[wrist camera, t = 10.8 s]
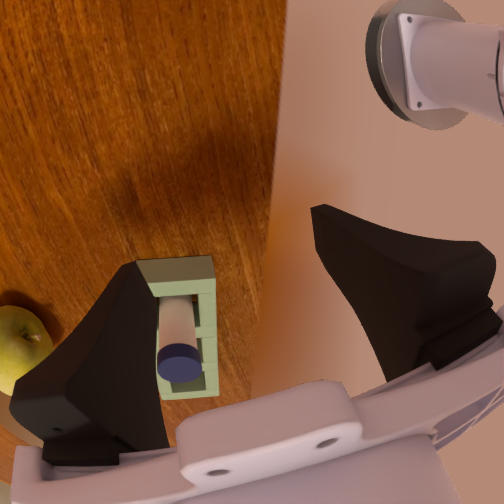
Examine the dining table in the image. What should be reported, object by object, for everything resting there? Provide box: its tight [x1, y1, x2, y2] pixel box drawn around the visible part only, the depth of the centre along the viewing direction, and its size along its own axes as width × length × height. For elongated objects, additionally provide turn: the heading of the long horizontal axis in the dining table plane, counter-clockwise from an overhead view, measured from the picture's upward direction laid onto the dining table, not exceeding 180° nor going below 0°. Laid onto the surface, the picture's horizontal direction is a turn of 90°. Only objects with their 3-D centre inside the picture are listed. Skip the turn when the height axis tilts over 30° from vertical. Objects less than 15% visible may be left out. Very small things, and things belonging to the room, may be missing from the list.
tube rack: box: [136, 255, 219, 400], centre depth 27 cm, size 15×6×3 cm, turn 177°
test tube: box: [157, 294, 202, 383], centre depth 22 cm, size 3×3×8 cm
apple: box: [0, 305, 54, 396], centre depth 21 cm, size 8×9×8 cm
